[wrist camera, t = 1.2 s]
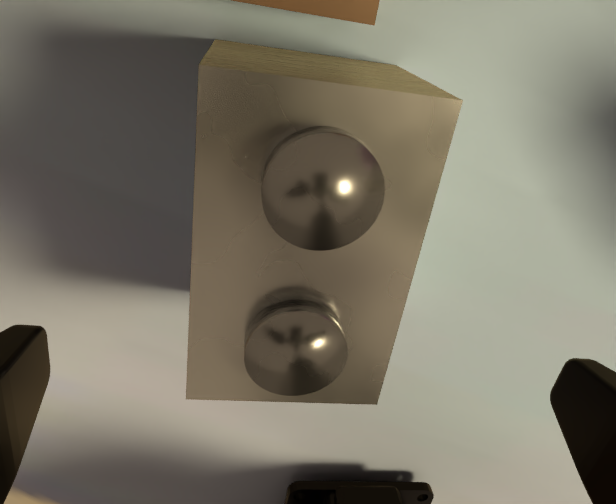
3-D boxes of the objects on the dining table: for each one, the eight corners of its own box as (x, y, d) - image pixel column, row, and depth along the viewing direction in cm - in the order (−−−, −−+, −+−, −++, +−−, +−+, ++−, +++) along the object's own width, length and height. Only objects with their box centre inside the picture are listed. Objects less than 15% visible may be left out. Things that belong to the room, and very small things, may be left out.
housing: (344, 300, 17) (382, 421, 13) (202, 291, 17) (182, 417, 12) (395, 64, 14) (475, 107, 9) (215, 38, 13) (195, 70, 8)
